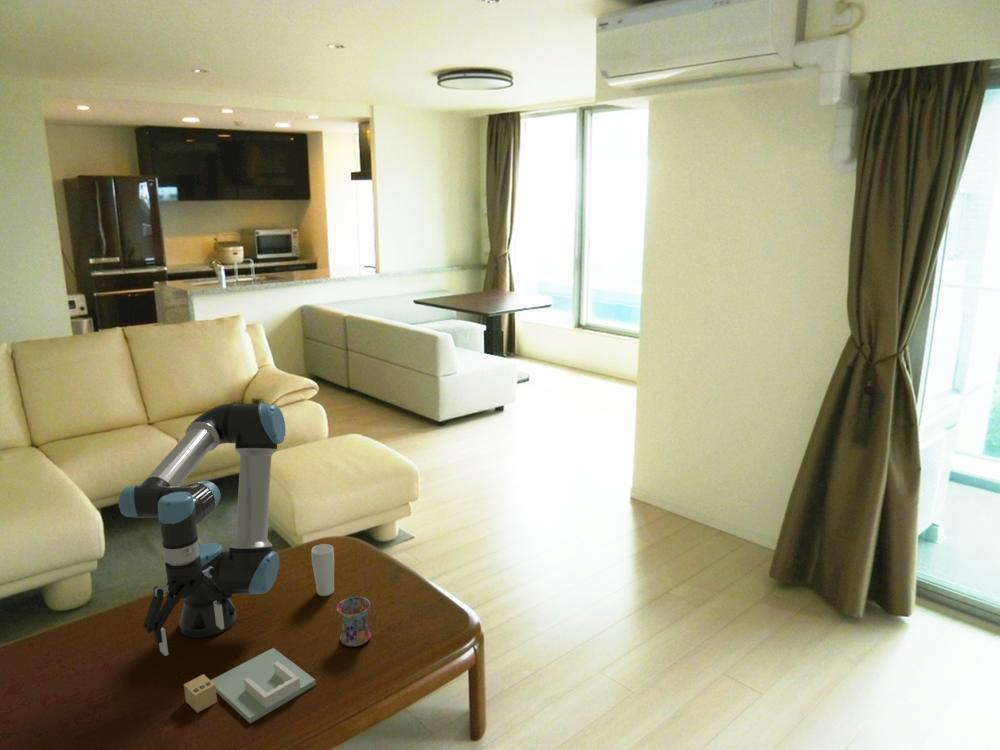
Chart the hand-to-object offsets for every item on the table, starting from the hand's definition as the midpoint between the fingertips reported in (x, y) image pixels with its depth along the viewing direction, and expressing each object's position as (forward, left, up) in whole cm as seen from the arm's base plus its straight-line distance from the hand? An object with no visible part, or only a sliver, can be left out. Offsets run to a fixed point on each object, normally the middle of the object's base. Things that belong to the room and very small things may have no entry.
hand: (193, 639), depth 167 cm
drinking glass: (-19, +49, -18) cm, 56 cm away
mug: (+7, +41, -18) cm, 45 cm away
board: (+6, +13, -17) cm, 23 cm away
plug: (0, 0, -18) cm, 18 cm away
